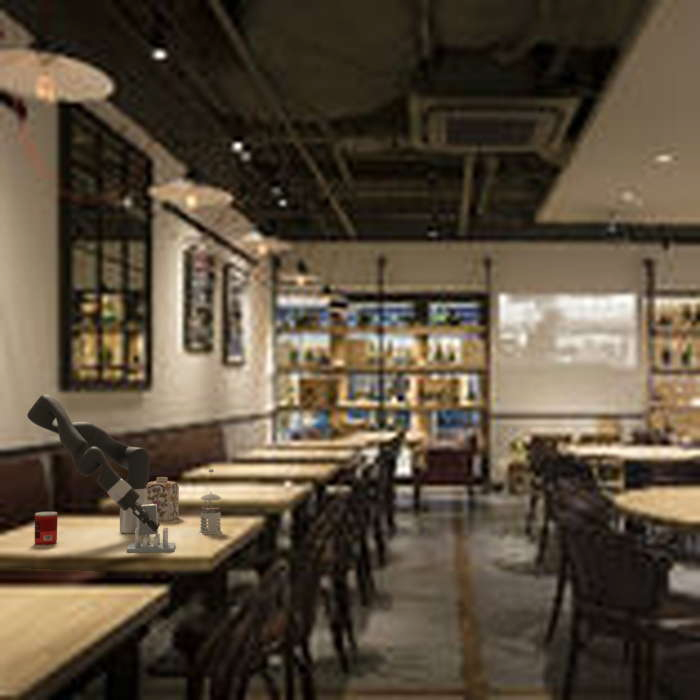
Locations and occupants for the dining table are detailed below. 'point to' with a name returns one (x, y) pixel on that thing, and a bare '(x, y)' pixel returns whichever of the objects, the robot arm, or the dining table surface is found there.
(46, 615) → the dining table surface
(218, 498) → the french press
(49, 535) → the canned food
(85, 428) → the robot arm
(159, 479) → the decorative jar
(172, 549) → the grey peg board
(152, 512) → the block
